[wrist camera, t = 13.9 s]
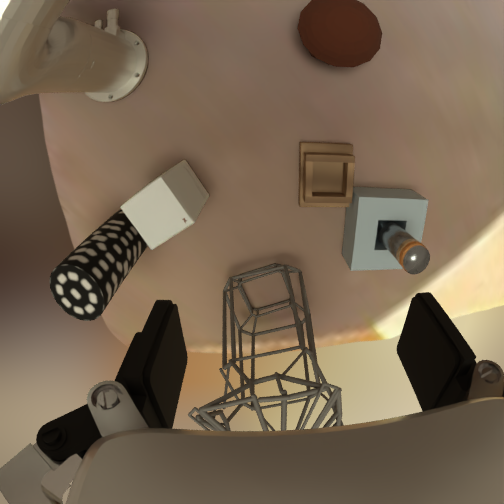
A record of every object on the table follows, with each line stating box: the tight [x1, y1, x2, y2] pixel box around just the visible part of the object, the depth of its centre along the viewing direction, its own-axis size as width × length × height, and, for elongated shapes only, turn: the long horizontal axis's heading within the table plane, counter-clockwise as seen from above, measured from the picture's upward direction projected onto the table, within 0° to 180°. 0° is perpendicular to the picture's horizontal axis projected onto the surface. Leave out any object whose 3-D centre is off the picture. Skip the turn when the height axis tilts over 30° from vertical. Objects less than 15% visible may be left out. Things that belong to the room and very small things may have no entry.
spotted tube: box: [50, 210, 148, 321], centre depth 42 cm, size 8×8×20 cm
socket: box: [342, 187, 428, 271], centre depth 47 cm, size 12×12×6 cm
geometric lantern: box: [188, 264, 344, 431], centre depth 40 cm, size 16×16×35 cm
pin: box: [376, 220, 430, 274], centre depth 42 cm, size 4×4×14 cm
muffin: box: [298, 0, 382, 67], centre depth 32 cm, size 12×11×10 cm
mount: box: [299, 142, 355, 207], centre depth 45 cm, size 10×8×4 cm
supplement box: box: [120, 160, 209, 250], centre depth 42 cm, size 7×7×13 cm
